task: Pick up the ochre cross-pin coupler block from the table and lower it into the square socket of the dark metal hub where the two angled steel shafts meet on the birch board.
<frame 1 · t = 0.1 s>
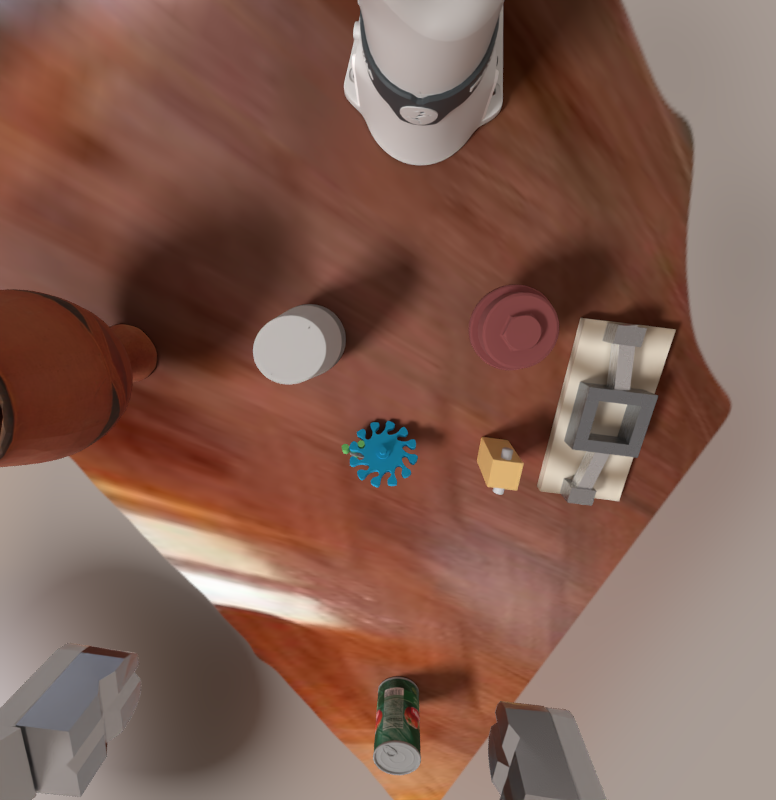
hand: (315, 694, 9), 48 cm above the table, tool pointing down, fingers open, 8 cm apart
shaft assembly: (608, 419, 53), on the board, point 2 cm above the table
goblet: (128, 353, 57), on the table
smart speaker: (317, 336, 55), on the table
blue toothed wheel: (381, 442, 59), on the table
canned tomato: (398, 690, 73), on the table
coupler: (492, 450, 58), on the table
mechanical component: (497, 322, 53), on the table
board: (598, 412, 56), on the table
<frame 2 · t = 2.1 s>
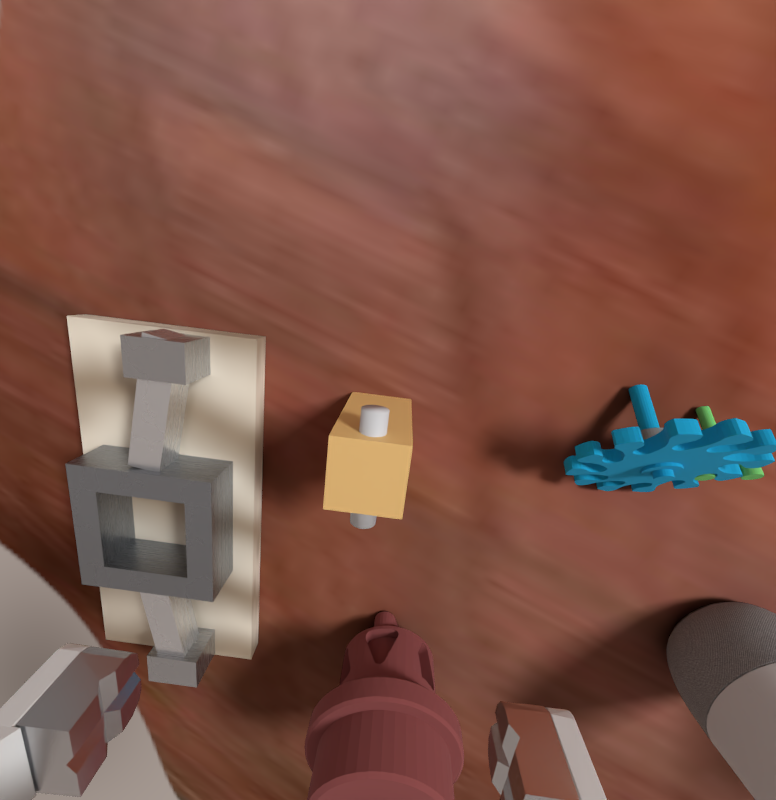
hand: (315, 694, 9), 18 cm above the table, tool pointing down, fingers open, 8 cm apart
shaft assembly: (157, 522, 26), on the board, point 3 cm above the table
smart speaker: (712, 633, 30), on the table
blue toothed wheel: (629, 436, 26), on the table
coupler: (378, 423, 26), on the table
mechanical component: (389, 639, 32), on the table
board: (182, 499, 29), on the table
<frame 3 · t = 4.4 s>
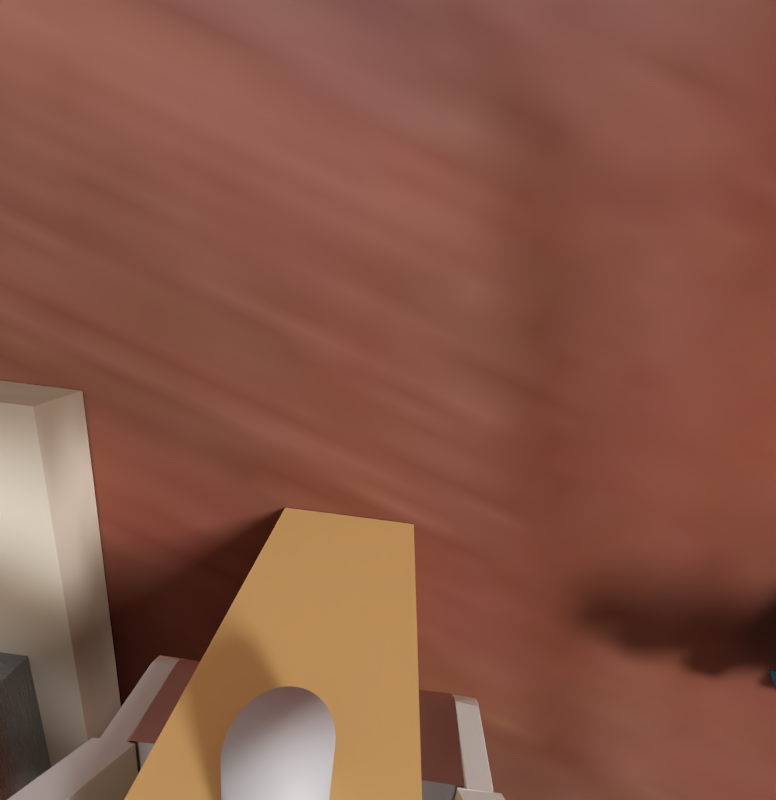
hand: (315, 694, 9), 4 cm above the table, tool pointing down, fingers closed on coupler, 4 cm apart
coupler: (343, 569, 12), on the table, touching gripper
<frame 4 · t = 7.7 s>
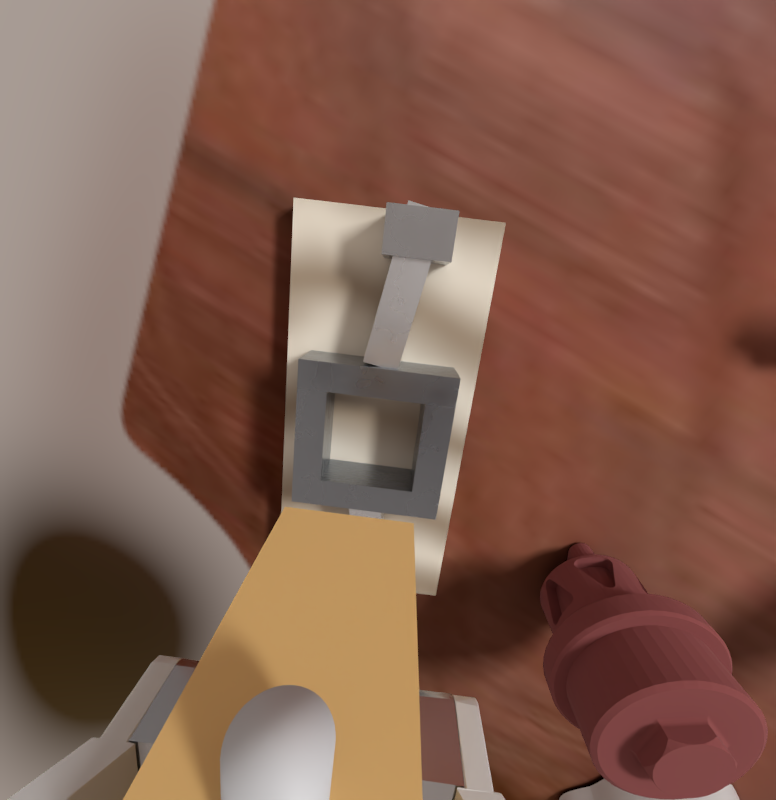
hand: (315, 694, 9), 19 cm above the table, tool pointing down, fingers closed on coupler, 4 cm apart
shaft assembly: (373, 434, 24), on the board, point 3 cm above the table
coupler: (343, 568, 12), point 15 cm above the table, touching gripper
mechanical component: (577, 576, 30), on the table
board: (376, 418, 26), on the table
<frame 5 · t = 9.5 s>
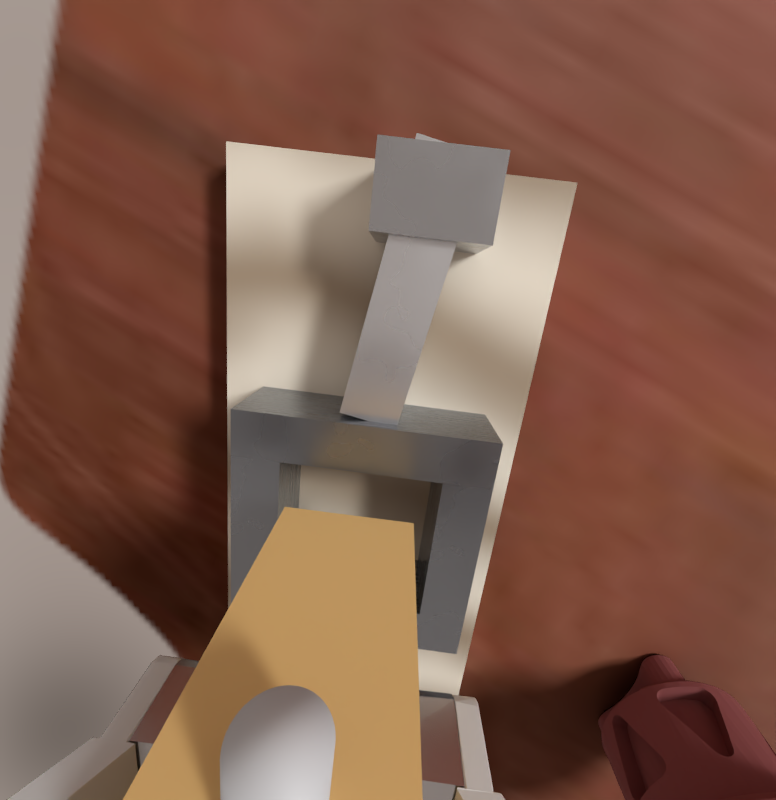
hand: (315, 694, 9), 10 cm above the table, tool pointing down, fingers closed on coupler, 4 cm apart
shaft assembly: (358, 518, 15), on the board, point 2 cm above the table
coupler: (343, 568, 12), point 6 cm above the table, touching gripper
mechanical component: (650, 695, 21), on the table
board: (366, 481, 18), on the table
when the fingers open (7 cm above the table, at t = 11.1 s): coupler drops 1 cm, resting on board.
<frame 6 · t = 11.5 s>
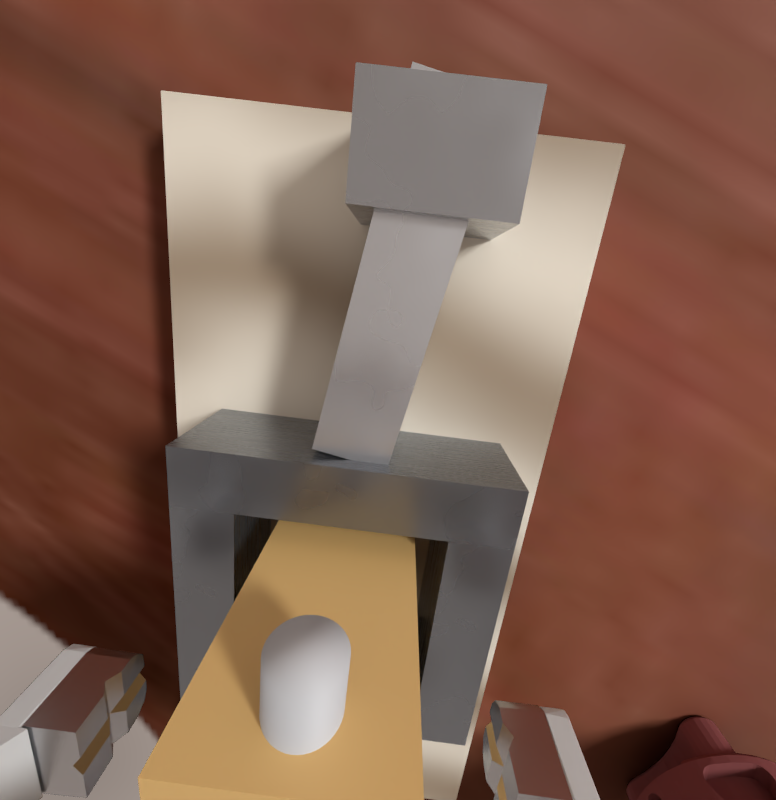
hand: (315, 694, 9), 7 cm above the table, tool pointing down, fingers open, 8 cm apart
shaft assembly: (341, 574, 12), on the board, point 2 cm above the table
coupler: (350, 543, 13), point 1 cm above the table, touching board
mechanical component: (687, 759, 18), on the table
board: (354, 519, 15), on the table
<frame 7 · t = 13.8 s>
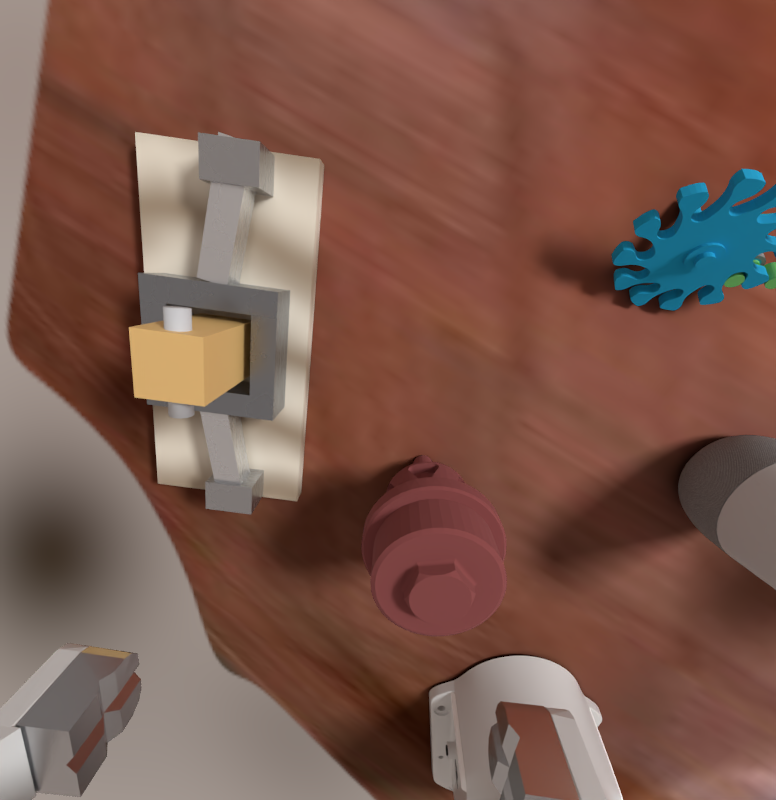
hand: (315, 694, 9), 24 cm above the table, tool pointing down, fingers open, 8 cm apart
shaft assembly: (219, 347, 27), on the board, point 2 cm above the table
smart speaker: (718, 473, 33), on the table
blue toothed wheel: (667, 256, 28), on the table
coupler: (228, 343, 29), point 1 cm above the table, touching board
mechanical component: (425, 486, 34), on the table
board: (235, 340, 30), on the table
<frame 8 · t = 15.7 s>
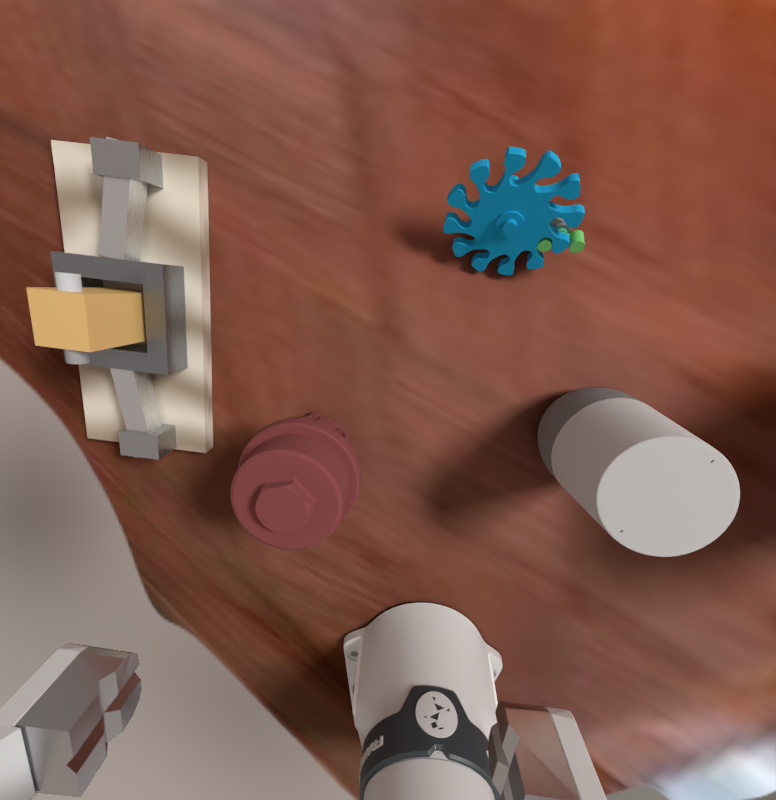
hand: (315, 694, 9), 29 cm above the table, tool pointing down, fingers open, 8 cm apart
shaft assembly: (124, 314, 33), on the board, point 2 cm above the table
smart speaker: (577, 426, 37), on the table
blue toothed wheel: (503, 229, 32), on the table
coupler: (137, 313, 34), point 1 cm above the table, touching board
mechanical component: (320, 441, 39), on the table
board: (147, 312, 36), on the table
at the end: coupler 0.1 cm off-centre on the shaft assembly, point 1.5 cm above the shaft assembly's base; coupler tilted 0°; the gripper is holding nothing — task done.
